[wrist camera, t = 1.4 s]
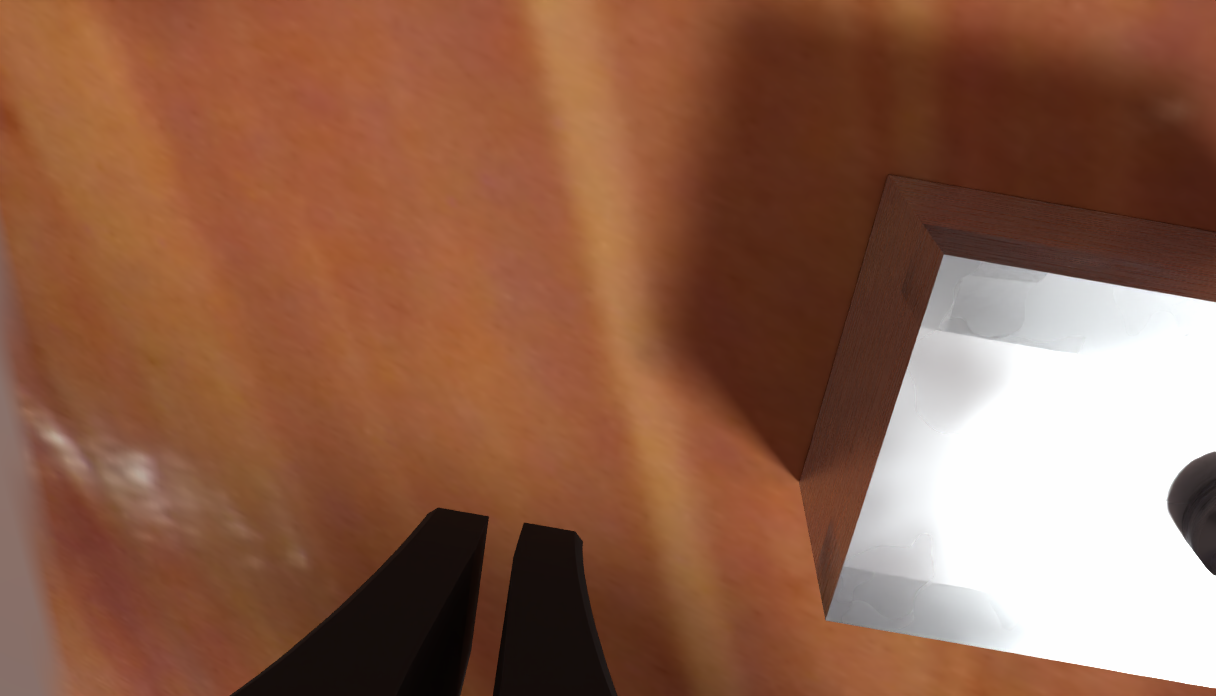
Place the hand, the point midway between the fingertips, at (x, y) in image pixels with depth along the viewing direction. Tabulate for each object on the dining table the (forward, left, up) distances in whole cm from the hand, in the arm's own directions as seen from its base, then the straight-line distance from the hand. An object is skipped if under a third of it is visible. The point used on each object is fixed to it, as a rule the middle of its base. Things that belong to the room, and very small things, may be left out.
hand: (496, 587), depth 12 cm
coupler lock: (0, -10, -9) cm, 13 cm away
